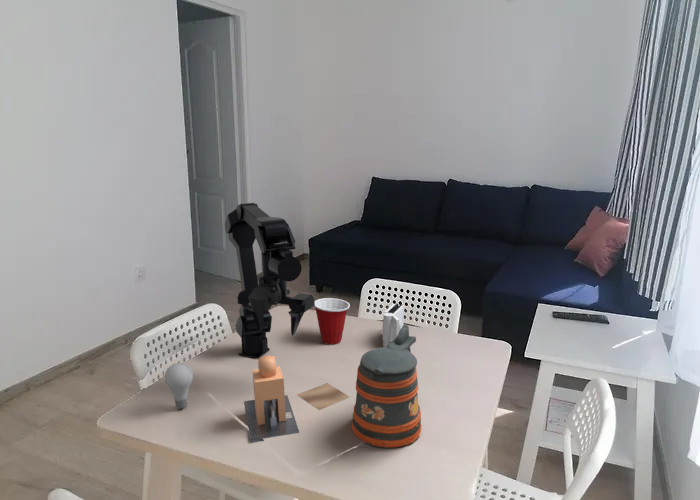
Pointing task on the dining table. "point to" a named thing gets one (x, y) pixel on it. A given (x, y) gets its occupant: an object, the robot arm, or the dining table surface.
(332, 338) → the plastic cup
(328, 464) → the dining table surface
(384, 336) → the white box
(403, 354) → the beer stein
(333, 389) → the thin square tan tile
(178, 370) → the lightbulb
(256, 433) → the grey finned plate
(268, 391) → the arched stamp block
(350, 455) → the dining table surface
